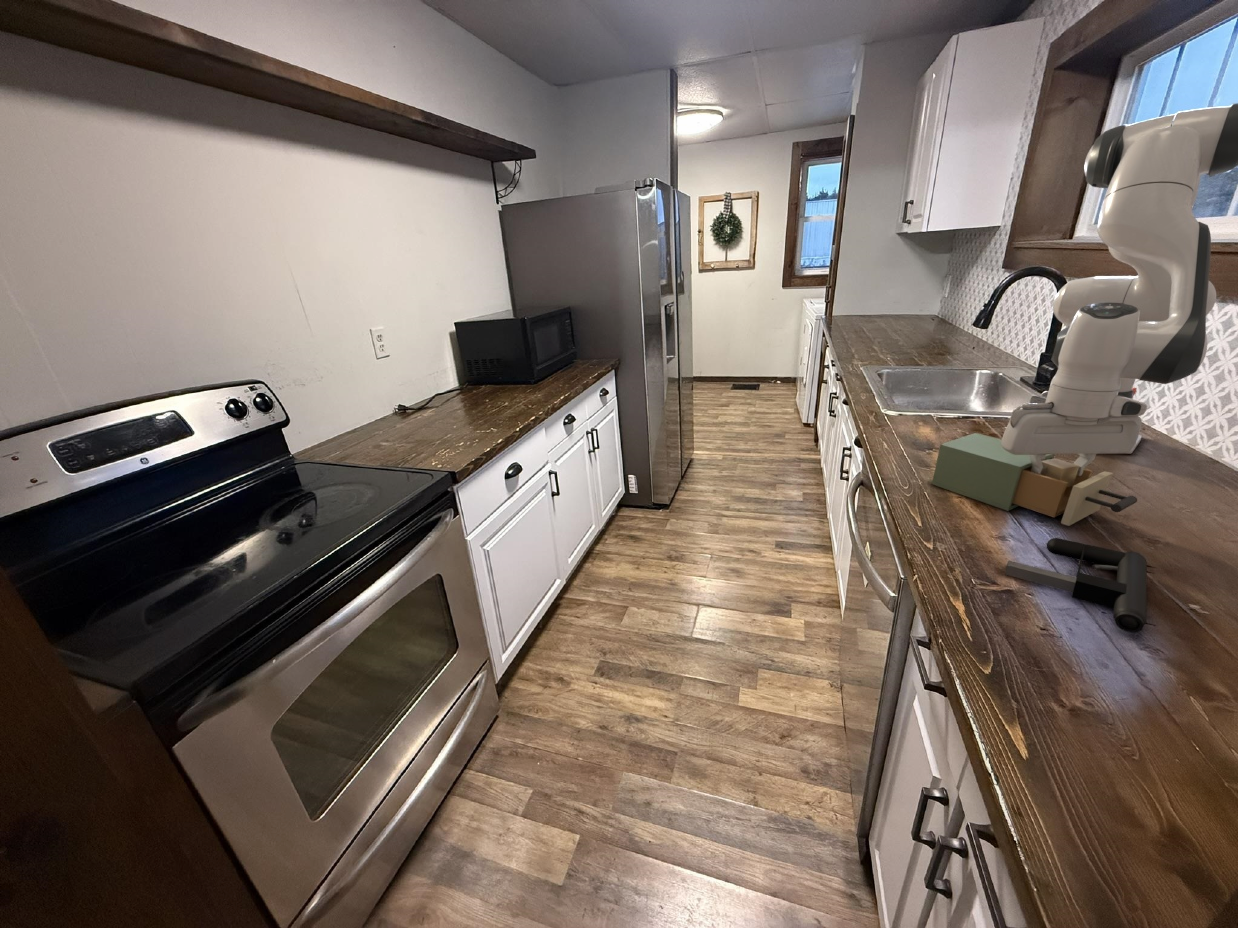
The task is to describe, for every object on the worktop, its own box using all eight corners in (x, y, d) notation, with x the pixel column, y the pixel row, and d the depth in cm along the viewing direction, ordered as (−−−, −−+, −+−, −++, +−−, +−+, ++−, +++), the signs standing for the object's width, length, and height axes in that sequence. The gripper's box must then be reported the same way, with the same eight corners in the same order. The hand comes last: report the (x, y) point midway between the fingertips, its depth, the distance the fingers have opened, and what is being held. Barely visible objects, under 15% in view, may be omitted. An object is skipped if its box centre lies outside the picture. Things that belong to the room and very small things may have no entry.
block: (1050, 477, 94) (1056, 458, 93) (1072, 485, 91) (1079, 465, 89) (1033, 480, 93) (1039, 461, 92) (1056, 489, 90) (1062, 468, 88)
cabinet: (1042, 494, 99) (1055, 452, 96) (1007, 511, 94) (1020, 467, 91) (966, 471, 111) (975, 432, 108) (931, 484, 106) (940, 444, 103)
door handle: (1000, 577, 72) (1162, 622, 61) (1022, 525, 85) (1159, 553, 74) (996, 597, 73) (1154, 644, 62) (1019, 542, 86) (1153, 573, 75)
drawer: (1134, 520, 87) (1150, 482, 84) (1104, 538, 82) (1119, 499, 80) (1016, 483, 102) (1026, 450, 100) (985, 497, 98) (994, 463, 95)
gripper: (1027, 408, 84) (1006, 482, 89) (1158, 405, 82) (1129, 481, 88) (1003, 398, 90) (985, 468, 95) (1126, 396, 88) (1100, 467, 93)
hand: (1055, 474), depth 91 cm, fingers closed on block, 5 cm apart
